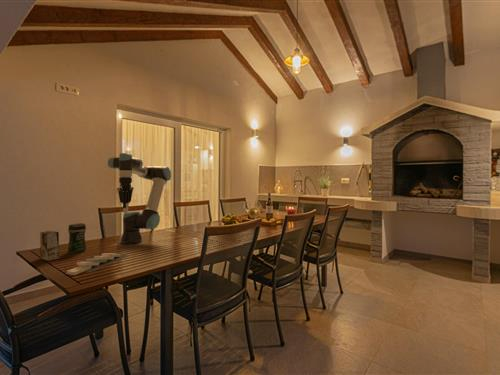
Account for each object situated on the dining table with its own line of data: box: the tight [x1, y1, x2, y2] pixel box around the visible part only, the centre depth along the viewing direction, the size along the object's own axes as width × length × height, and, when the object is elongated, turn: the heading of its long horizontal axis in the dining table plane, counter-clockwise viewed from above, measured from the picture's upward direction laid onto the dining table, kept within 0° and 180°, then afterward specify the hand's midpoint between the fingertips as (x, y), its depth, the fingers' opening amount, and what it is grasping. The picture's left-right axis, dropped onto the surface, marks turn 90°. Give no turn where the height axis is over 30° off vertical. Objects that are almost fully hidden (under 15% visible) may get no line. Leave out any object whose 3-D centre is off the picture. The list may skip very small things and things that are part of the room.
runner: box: [84, 254, 130, 273], centre depth 152 cm, size 30×12×1 cm, turn 166°
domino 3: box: [85, 258, 107, 262], centre depth 148 cm, size 2×5×10 cm
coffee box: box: [39, 230, 60, 262], centre depth 158 cm, size 9×6×16 cm
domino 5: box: [101, 252, 122, 257], centre depth 159 cm, size 2×5×10 cm
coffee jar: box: [67, 223, 87, 254], centre depth 173 cm, size 10×8×19 cm
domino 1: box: [66, 265, 91, 276], centre depth 137 cm, size 2×5×10 cm
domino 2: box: [76, 261, 100, 266], centre depth 143 cm, size 2×5×10 cm
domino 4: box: [93, 255, 114, 260], centre depth 153 cm, size 2×5×10 cm
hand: (125, 212), depth 172 cm, fingers closed
